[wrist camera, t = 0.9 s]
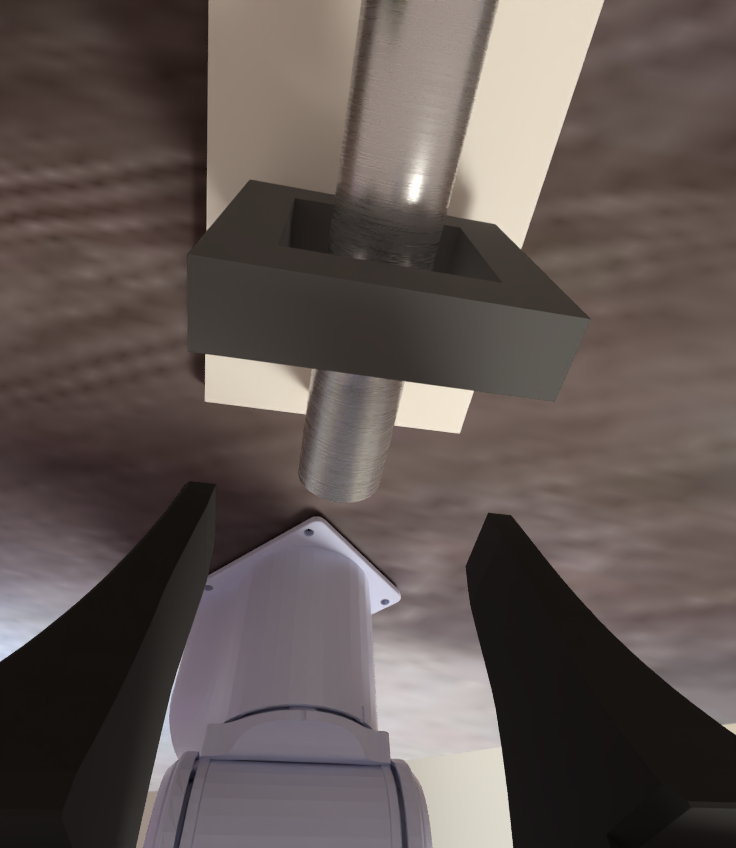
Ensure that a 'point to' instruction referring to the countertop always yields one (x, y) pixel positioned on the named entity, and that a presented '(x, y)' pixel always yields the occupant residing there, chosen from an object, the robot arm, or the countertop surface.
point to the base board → (323, 134)
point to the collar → (377, 301)
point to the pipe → (392, 203)
